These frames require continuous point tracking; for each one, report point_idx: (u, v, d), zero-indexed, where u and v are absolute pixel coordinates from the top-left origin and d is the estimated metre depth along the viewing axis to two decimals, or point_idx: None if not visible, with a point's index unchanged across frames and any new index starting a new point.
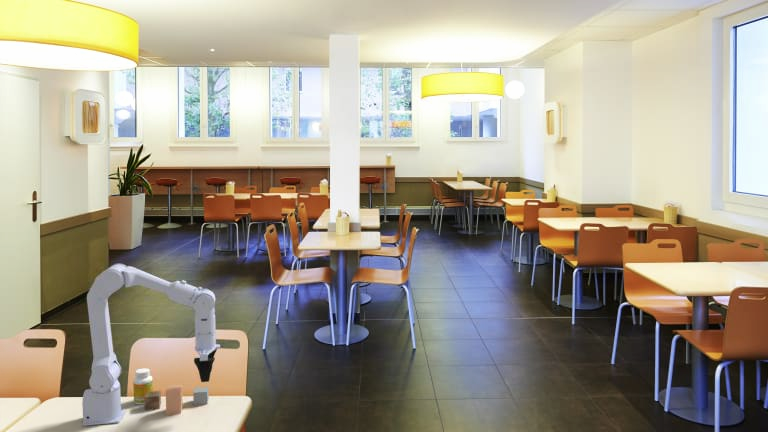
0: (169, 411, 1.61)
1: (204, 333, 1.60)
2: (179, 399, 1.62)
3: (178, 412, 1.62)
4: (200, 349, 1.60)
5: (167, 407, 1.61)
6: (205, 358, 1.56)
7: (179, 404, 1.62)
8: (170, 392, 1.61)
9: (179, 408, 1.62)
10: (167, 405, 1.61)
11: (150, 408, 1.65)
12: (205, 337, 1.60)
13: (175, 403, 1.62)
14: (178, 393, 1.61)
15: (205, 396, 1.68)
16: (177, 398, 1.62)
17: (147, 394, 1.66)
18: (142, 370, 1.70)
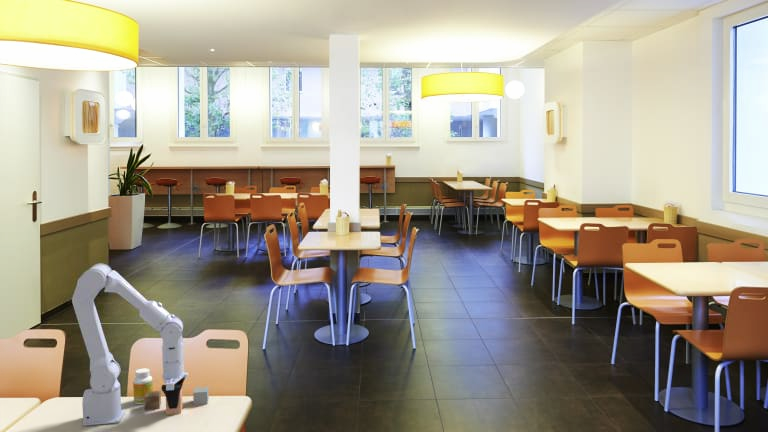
0: (169, 411, 1.61)
1: (172, 362, 1.60)
2: (179, 399, 1.62)
3: (178, 412, 1.62)
4: (167, 378, 1.60)
5: (167, 407, 1.61)
6: (171, 387, 1.56)
7: (179, 404, 1.62)
8: None
9: (179, 408, 1.62)
10: (167, 405, 1.61)
11: (150, 408, 1.65)
12: (172, 366, 1.60)
13: None
14: None
15: (205, 396, 1.68)
16: None
17: (147, 394, 1.66)
18: (142, 370, 1.70)
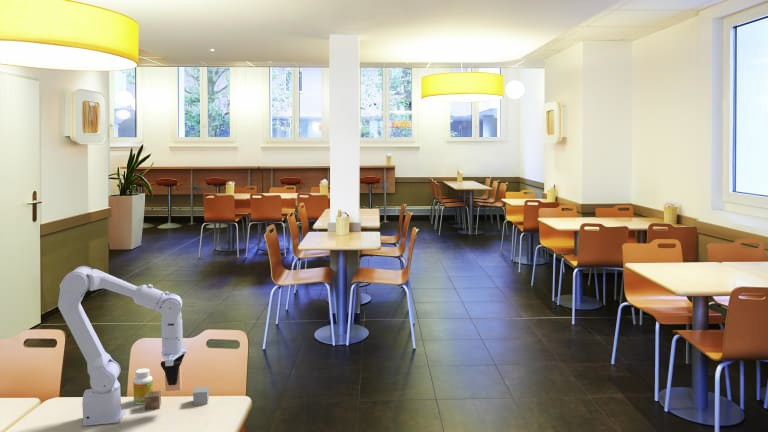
0: (168, 388, 1.61)
1: (171, 338, 1.59)
2: (178, 376, 1.61)
3: (177, 389, 1.61)
4: (166, 354, 1.59)
5: (166, 384, 1.61)
6: (171, 363, 1.55)
7: (178, 381, 1.61)
8: None
9: (178, 385, 1.61)
10: (166, 382, 1.61)
11: (150, 408, 1.65)
12: (171, 342, 1.59)
13: None
14: None
15: (205, 396, 1.68)
16: None
17: (147, 394, 1.66)
18: (142, 370, 1.70)
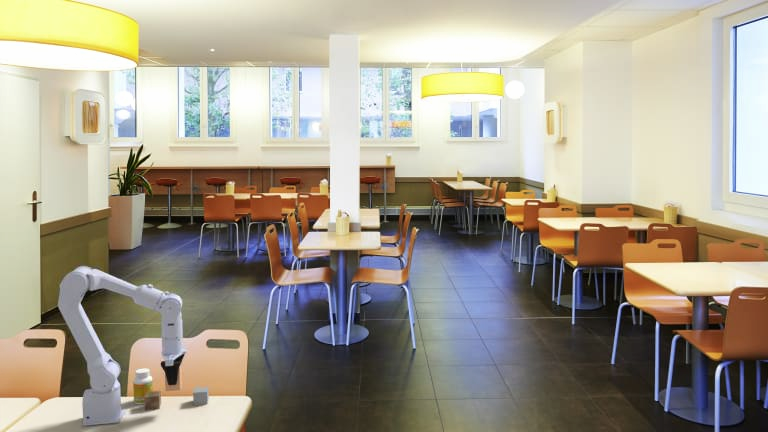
0: (169, 388, 1.61)
1: (171, 338, 1.59)
2: (178, 376, 1.61)
3: (177, 389, 1.61)
4: (166, 354, 1.59)
5: (166, 384, 1.61)
6: (171, 363, 1.55)
7: (178, 381, 1.61)
8: None
9: (178, 385, 1.61)
10: (166, 382, 1.61)
11: (150, 408, 1.65)
12: (171, 342, 1.59)
13: None
14: None
15: (205, 396, 1.68)
16: None
17: (147, 394, 1.66)
18: (142, 370, 1.70)
